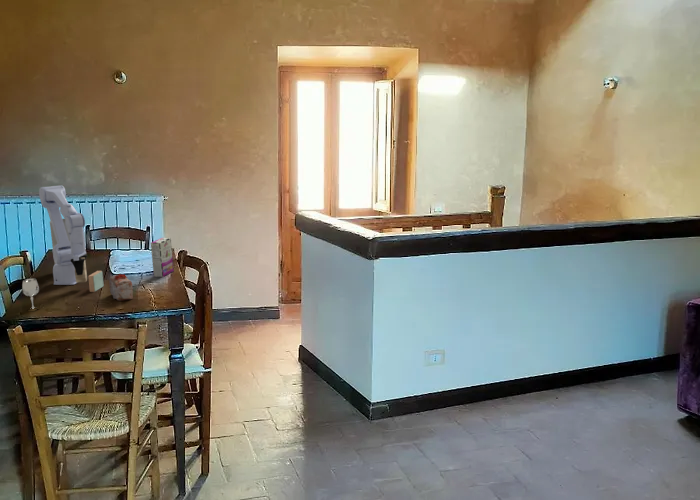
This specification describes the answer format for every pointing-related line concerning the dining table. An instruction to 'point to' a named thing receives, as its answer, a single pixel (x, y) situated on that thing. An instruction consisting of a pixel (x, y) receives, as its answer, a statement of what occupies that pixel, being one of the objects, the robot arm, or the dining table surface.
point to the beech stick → (84, 276)
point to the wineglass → (30, 288)
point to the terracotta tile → (95, 281)
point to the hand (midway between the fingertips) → (80, 273)
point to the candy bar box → (162, 257)
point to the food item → (120, 287)
